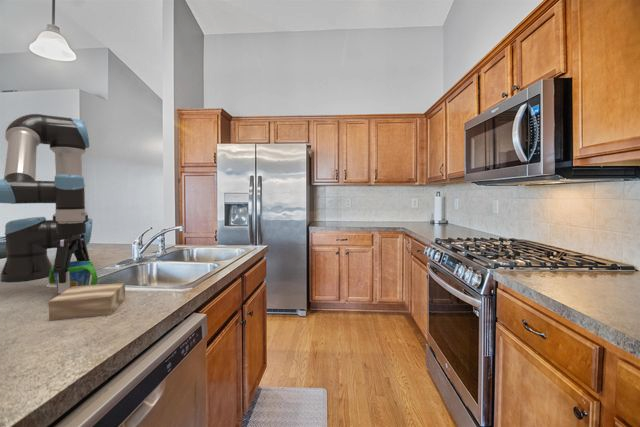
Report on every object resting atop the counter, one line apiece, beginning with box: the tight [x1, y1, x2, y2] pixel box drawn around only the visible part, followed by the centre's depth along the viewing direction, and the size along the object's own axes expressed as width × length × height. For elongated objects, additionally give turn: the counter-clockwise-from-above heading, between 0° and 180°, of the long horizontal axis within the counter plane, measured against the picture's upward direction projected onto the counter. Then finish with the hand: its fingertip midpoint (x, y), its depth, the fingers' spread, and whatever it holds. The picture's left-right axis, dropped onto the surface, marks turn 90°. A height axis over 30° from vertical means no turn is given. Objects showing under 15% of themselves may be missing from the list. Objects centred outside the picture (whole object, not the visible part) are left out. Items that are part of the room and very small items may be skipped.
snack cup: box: [48, 260, 99, 295], centre depth 102 cm, size 16×10×10 cm
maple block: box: [48, 282, 126, 321], centre depth 90 cm, size 14×14×5 cm
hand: (73, 286), depth 102 cm, fingers open, 12 cm apart
